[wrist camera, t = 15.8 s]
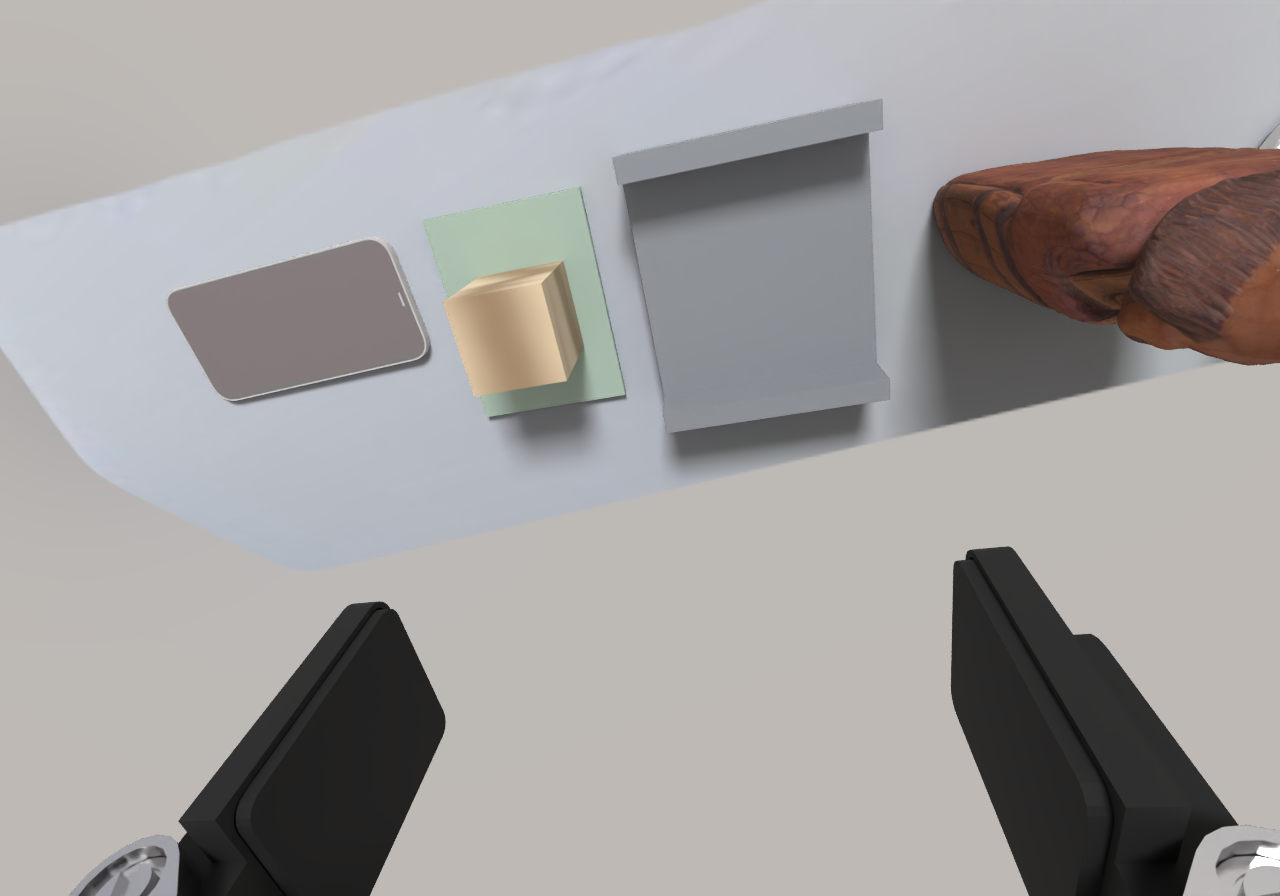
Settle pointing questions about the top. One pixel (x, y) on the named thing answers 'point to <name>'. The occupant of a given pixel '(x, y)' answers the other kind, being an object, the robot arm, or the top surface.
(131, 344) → the top surface
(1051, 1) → the top surface
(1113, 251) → the wooden figurine
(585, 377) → the sage mat
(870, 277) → the gray u-shaped channel
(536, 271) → the beech block
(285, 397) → the top surface
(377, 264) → the smartphone
